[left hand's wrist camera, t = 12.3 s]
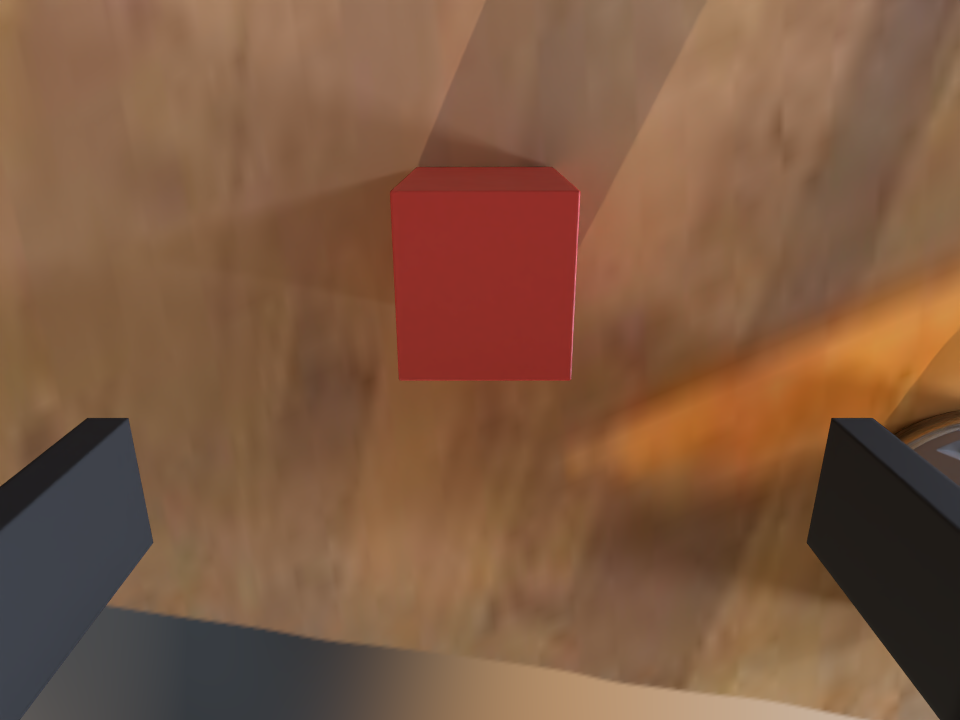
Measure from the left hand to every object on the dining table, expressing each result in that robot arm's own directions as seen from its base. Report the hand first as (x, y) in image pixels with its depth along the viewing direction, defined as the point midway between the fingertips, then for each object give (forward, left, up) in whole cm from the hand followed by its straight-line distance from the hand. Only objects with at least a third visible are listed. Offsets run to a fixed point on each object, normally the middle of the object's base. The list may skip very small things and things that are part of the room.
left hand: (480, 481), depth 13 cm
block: (0, 0, -26) cm, 26 cm away
